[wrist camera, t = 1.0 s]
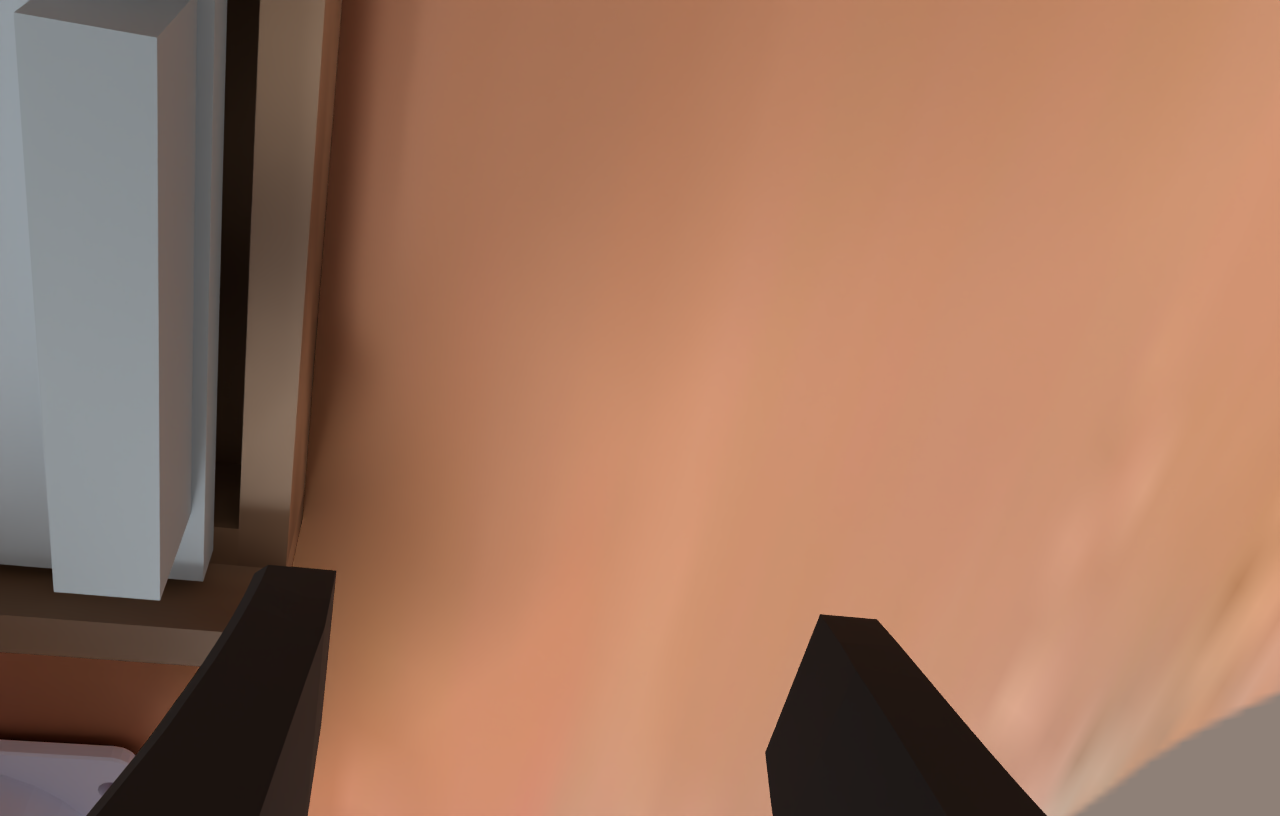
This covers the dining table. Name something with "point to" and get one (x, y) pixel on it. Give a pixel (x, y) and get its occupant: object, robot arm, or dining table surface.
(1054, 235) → the dining table surface
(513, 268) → the dining table surface
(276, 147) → the case
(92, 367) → the cover plate
